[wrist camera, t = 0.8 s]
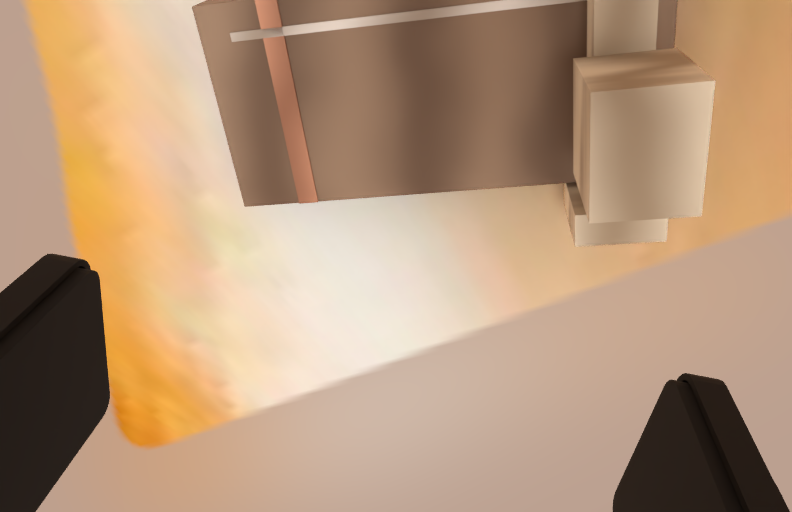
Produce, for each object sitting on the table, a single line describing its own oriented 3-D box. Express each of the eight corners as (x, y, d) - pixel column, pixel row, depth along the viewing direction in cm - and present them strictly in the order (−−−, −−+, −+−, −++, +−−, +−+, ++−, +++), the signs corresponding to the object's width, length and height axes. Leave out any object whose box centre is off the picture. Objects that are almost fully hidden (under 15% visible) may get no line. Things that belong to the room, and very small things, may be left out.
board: (669, -60, 28) (681, -56, 26) (655, 160, 33) (665, 176, 31) (207, 0, 32) (191, 7, 30) (256, 191, 36) (244, 207, 35)
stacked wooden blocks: (657, -32, 28) (723, 1, 21) (644, 199, 34) (693, 296, 26) (562, -21, 29) (591, 15, 21) (564, 205, 34) (588, 301, 26)
